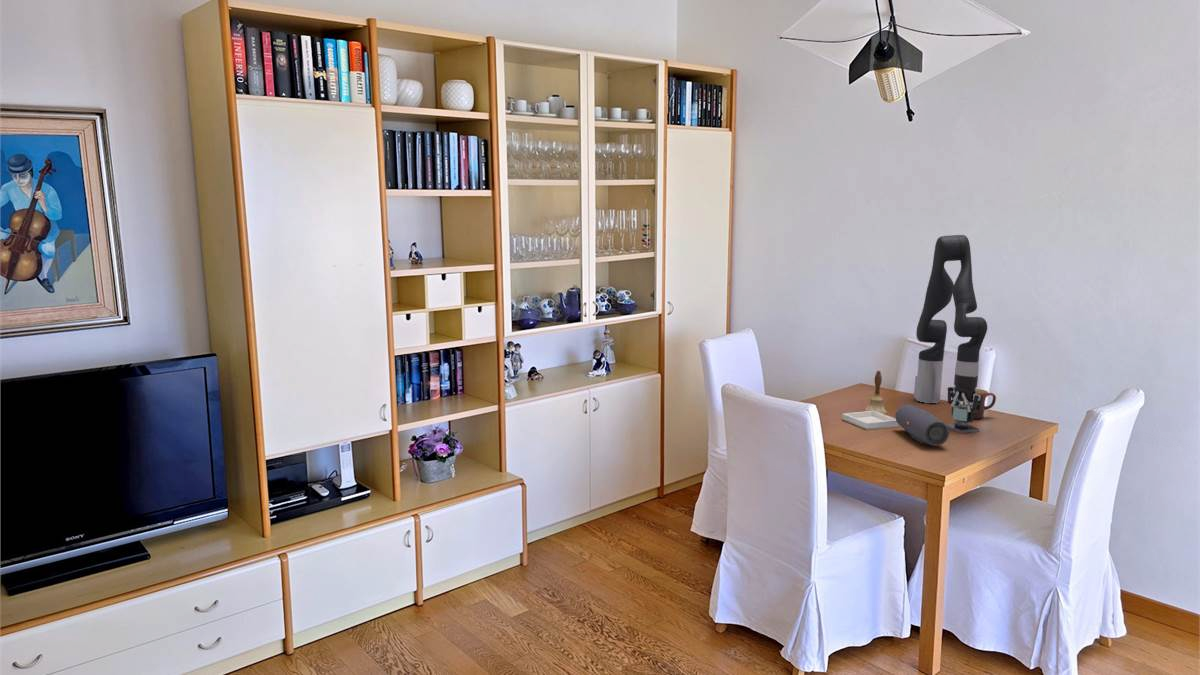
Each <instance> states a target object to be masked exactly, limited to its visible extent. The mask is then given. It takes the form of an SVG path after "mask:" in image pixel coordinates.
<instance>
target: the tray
mask: <svg viewBox="0 0 1200 675" xmlns="http://www.w3.org/2000/svg"><path fill="white" fill-rule="evenodd" d="M841 416H842V417H841V418H842V419H841V420H842V421H843V422H846V423H849V424H850V425H853V426H856V427H858V428H861V429H864V430H866V431H870V430H881V429H890V428H896V427H897V428H899V427H900V425H899V424H898V423H897V421H896V418H895V417H892V416H890V415H887V414H881V413H879V412H876V411H865V410H864V411H857V412H856V411H855V412H845V413H842V415H841Z"/></svg>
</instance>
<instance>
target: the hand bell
mask: <svg viewBox="0 0 1200 675" xmlns="http://www.w3.org/2000/svg"><path fill="white" fill-rule="evenodd" d="M882 378H883V377H882V373H881V371H880V370H877V371H876V374H875V376H874V386H875V390H874V396H872V397H870V400H869V403H868V405H867V407H866V408H865V409H864V412H865V411H876V412H879V413H881V414H884V415H887V414H888V410H886V408H885V404H884V399H883V398H882V397H881V395H880V394H881V393H880V392H881V391H880V390H881V385H882V380H883V379H882Z"/></svg>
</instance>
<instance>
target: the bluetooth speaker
mask: <svg viewBox="0 0 1200 675" xmlns="http://www.w3.org/2000/svg"><path fill="white" fill-rule="evenodd" d="M894 418H895V419H896V421H897V423H898V424H899V427H901V428H902V429H904V430H905V431H906V432H907V433H908V434H909V436H910V437H911V438H912V439H914V440H916V441H917V442H918V443H921V444H923V445H924V444H925V445H930V446H937V447H938V446H942V445H943V444H944V443H945V442H947V441H948V438H949V437H950V429H948V427H947V426H946V425H947V424H946V423H944V421H943V420H940V419H939V418H938V417H936V416H934V415H933V414H932V413H930V412H928V411H926V410H924V409H923V408H920V407H919V406H915V405H913V404H907V403H906V404H902V405H901V406H899V408H898V409H897V410H896V412H895V416H894Z"/></svg>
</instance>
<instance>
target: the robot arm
mask: <svg viewBox="0 0 1200 675" xmlns="http://www.w3.org/2000/svg"><path fill="white" fill-rule="evenodd" d="M933 253H934V254H933V261H932V267H931V271H930V276H929V280H928V283H927V288H926V292H925V297H924V303H923V307H922V311H921V314H920V317H919V320H918V322H917V323H918V324H917V326H916V331H915V332H916V334H915V335H916V339H917V340H918V341H919V343H920V342H921V343H927V344H928V343H929V344H934V345H932V346H931V347H929V348H926V349H924V350H920V351H919V353H918V362H917V363H918V364H917V375H916V376H915V378H914V381H915V382H914V389H913V390H914V391H913V399H914V398H915V399H916V400H917V401H916V400H915V399H914V400H915V401H916V402H918V401H920V402H919V403H921V402H924V403H923V404H929V403H934V402H939V401H941V392H942V378H943V371H944V370H943V367H944V356H945V349H946V340H947V332H948V324H947V321H945V320H944V319H933V318H934V317H935V316H936V315H937V314H938V313H940V312H941V311H943V310H944V309H945V308H946V307H947V306H949V304H950V302H951V300H952V297H953V303H954V307H955V309H954V310H955V313H954V315H955V316H954V321H953V322H954V323H953V329H954V333H955V334H956V335H957V336H958V337H960V338H970V340H969V341H967V342H964V343H960V344H959V345H958V346H957V352H956V363H955V367H954V368H955V369H954V376H953V377H954V380H953V384H954V386H949V387H948V388H947V404H948V405H950V406H951V418H953V408H954V406H956V405H961V403H963V402H965V405H966V406H967V409H968V414H967V422H970V423H973V422H974V421H975V419H974V413H975V411H980V408H981V402H982V395H978V394H976V392H975V389H977V388H978V380H979V370H980V368H979V366H980V364H979V361H980V350H981V348H982V345H983V342H984V339H985V337H986V335H987V333H988V332H987V331H988V323H987V320H986V319H985V318H983V317H982V316H967V315H968V314H971V313H974V312H975V311H976V310H977V309H978V303H977V299H976V295H975V294H976V293H975V289H974V283H973V267H972V266H973V265H972V254H971V244H970V240H969V238H968V237H967V236H966V235H965V234H954V235H953V234H952V235H942V236H939V237H938V238H937V240H936V242H935V246H934V251H933ZM953 261H954V262H957V261H960V269H959V270H960V271H959V273H958V275H957V277H956V280H955V282H954V281H953V279H952V278H951V276H950V275H949V273H948V272H947V270H946V268H945V263H946V262H953ZM970 401H971V403H969V402H970ZM939 403H940V402H939ZM970 405H971V406H970ZM976 406H977V408H976ZM971 407H972V408H971Z"/></svg>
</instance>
